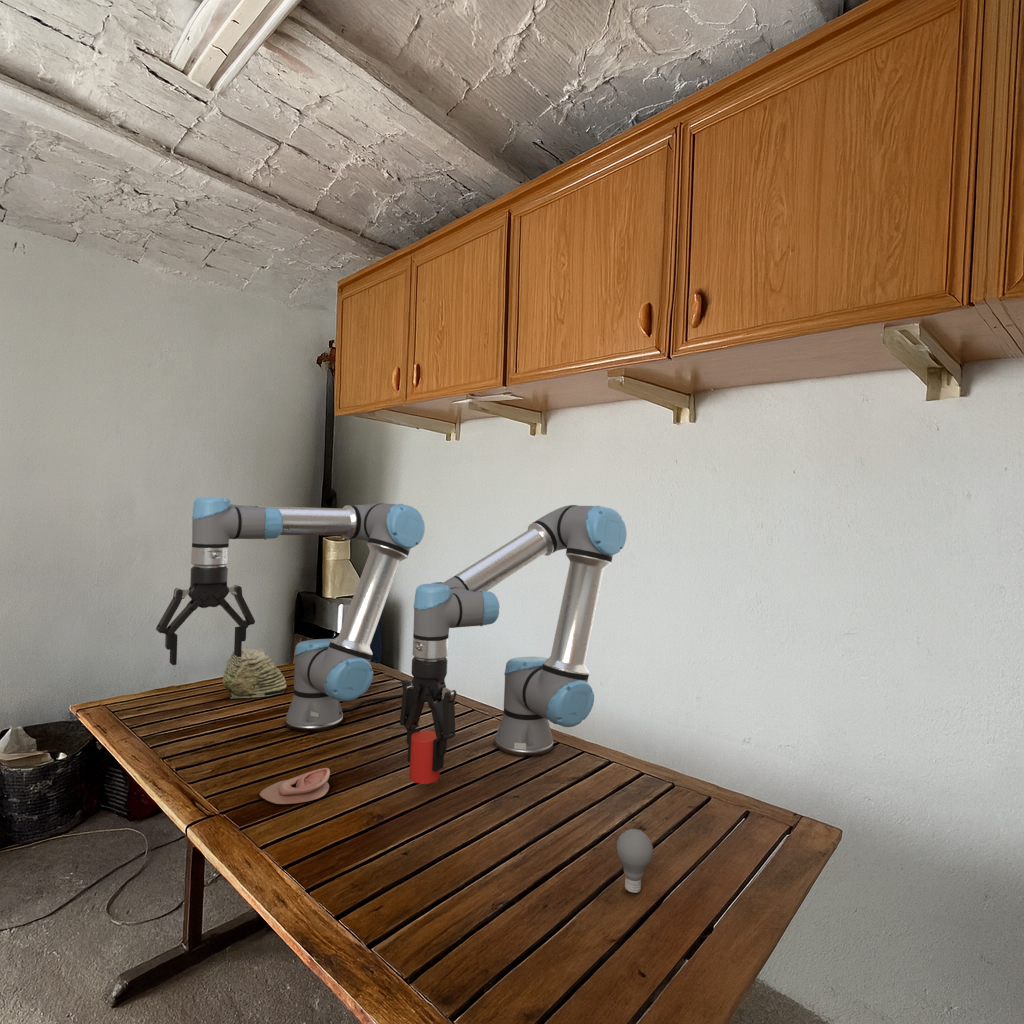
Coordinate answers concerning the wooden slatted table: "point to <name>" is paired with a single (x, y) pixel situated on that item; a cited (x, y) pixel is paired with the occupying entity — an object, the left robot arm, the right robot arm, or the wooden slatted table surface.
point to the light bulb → (634, 857)
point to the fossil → (253, 675)
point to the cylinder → (422, 758)
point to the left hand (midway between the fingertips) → (206, 659)
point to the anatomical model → (298, 788)
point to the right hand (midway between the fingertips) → (425, 764)
